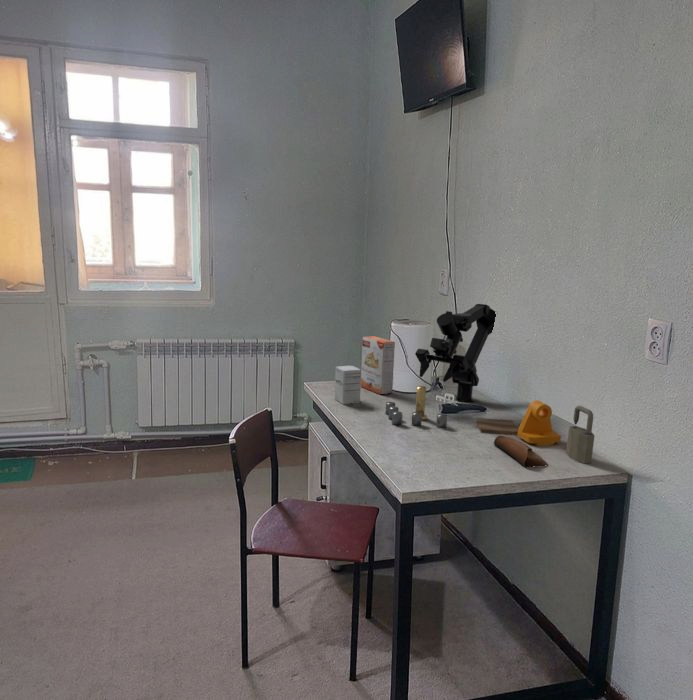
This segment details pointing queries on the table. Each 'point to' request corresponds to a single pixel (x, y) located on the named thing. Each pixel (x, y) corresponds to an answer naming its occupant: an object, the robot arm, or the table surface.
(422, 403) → the brass pin
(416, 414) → the dark gray domed cylinder
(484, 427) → the board
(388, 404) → the dark grey domed cylinder
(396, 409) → the dark grey domed cylinder
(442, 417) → the cylinder
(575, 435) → the padlock
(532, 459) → the sunglasses case
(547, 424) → the bracket
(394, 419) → the cylinder
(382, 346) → the cracker box
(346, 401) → the supplement box
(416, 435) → the table surface
